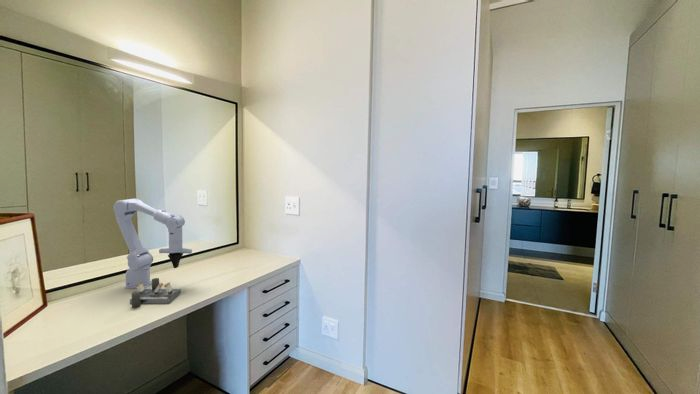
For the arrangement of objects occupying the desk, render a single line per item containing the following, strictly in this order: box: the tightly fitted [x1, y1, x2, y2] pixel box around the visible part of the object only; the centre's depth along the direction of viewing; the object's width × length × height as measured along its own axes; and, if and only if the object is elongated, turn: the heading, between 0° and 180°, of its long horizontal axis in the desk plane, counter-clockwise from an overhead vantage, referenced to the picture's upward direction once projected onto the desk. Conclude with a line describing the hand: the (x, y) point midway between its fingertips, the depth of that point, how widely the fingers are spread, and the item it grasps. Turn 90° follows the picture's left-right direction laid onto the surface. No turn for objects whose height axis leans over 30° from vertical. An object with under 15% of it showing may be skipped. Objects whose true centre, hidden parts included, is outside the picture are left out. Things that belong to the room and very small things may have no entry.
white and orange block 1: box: [136, 282, 146, 294], centre depth 131 cm, size 1×3×4 cm, turn 5°
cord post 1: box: [131, 290, 142, 309], centre depth 124 cm, size 3×3×6 cm
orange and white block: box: [163, 282, 174, 294], centre depth 132 cm, size 1×3×4 cm, turn 5°
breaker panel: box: [129, 288, 182, 305], centre depth 132 cm, size 16×11×3 cm
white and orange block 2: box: [154, 282, 164, 294], centre depth 132 cm, size 1×3×4 cm
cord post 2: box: [151, 277, 160, 289], centre depth 139 cm, size 3×3×6 cm
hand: (176, 267), depth 143 cm, fingers closed
